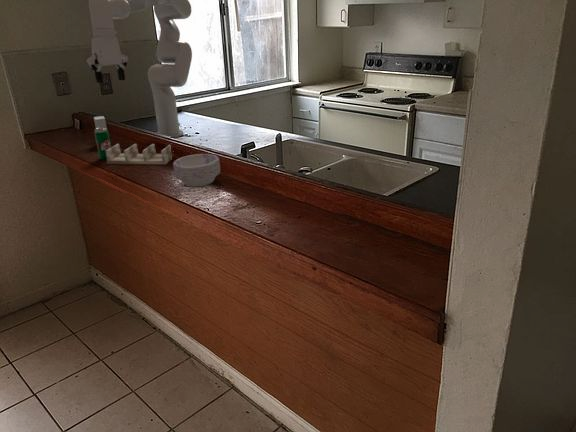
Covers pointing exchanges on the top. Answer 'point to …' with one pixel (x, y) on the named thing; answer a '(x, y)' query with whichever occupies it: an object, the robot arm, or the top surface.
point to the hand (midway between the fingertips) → (111, 81)
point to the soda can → (102, 142)
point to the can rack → (138, 155)
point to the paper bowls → (197, 169)
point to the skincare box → (100, 122)
